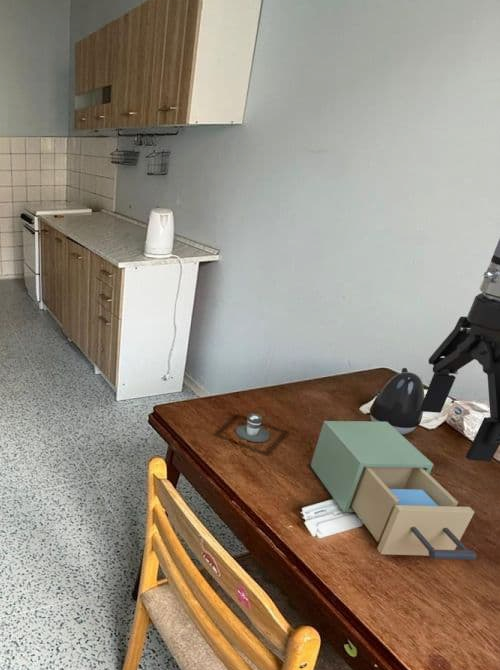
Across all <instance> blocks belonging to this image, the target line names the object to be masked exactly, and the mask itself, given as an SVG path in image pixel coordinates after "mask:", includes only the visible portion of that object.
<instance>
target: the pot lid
mask: <svg viewBox="0 0 500 670" xmlns="http://www.w3.org/2000/svg"><path fill="white" fill-rule="evenodd" d="M262 424H263V416H262V415H261V414H258V413H249V414H248V415H247V417H246V424H241V425H239V426H237V427H236V429H235V433H236V435H237V436H238V437H239V438H241V439H243V440H245V441H247V442H252V443H265V442H267V441H269V440H270V438H271V434H270V432H269V431H268V430H267V429H265V428H264V427H261V425H262Z"/></svg>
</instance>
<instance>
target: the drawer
mask: <svg viewBox="0 0 500 670" xmlns="http://www.w3.org/2000/svg"><path fill="white" fill-rule="evenodd" d="M390 489H415V490H423V491H424V492H425V493H426V494H427V495H428V496H429V497H430V498H431V499H432V500H433V501H434V502H435V503H436V504H437V505H438V506H409V505H398V504H399V500H398V498H397V497H396V496H395V495H394V494H393V493H392V492H391V491H390ZM458 504H459V501H458V500H457V499H456V498H455V497H454V496H453V495H452V494H450V492H448V491H447V489H446V488H444V487H443V485H441V484H440V483H439V482H438V481H437V480H436V479H435V478H434V477H433V476H432V475H431V474H428V473H427V472H426V471H425V470H424V469H423V468H411V467H364V468H363V471H362V473H361V476H360V479H359V482H358V484H357V487H356V490H355V493H354V495H353V498H352V501H351V504H350V505H351V507H352V508H353V509H354V511H355V512H354V513H355V514H356V515H357V516H358V518H359V520H360V521H361V522H362V523H363V524H364V526H365V527H366V528H367V530H368V531H369V532H370V534H371V535H372V536H373V538H374V539H375V541H376V542H377V543H378V546H377V548H376V549H377V551H378V552H379V554H380V555H393V556H397V555H398V556H399V555H400V556H423V557H424V556H426V557H427V556H429V558H430V559H432V560H450V561H451V560H455V561H476V560H477V558H478V557H477V553H476V552H475V551H474V550H469V549H468V548H467V547H466V546H465V545H464V544H463V543H462V541H461V539H462V537H463V535H464V534H465V532H466V529H467V527H468V526H469V524H470V523H471V520H472V518H473V516H474V514H475V511H474V510H473V509H472V508H471V507H470V506H457V505H458ZM457 547H458V549H456V548H457Z"/></svg>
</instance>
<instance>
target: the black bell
mask: <svg viewBox="0 0 500 670" xmlns="http://www.w3.org/2000/svg"><path fill="white" fill-rule="evenodd" d="M424 398H425V388H424V384H423V381H422V378H421V377H420V376H419V375H418V374H415V373H414V372H410V371H408V368H407V367H403V368H401V372H399V373H397V374H395V375H394V376H393V377H391V378H390V380H388V381H387V383H386V384H385V385H384V386H383V387H382V388H381V390H380V391H379V392H378V393H377V395H376V397H375V399H374V400H373V401H372V404H371V406H370V408H369V415H370V421H372V422H388V423H389V424H390V425H391V426H392V427H393V428H394V429H396V430H397V431H398V432H399V433H400V434H401V435H402V436H403V435H406V434H409V433H411V432H413V431H414V430H416V428H417V427H418V426H420V425H421V423H422V419H423V415H424V412H423V411H421V410H420V408H421V405H422V403H423V400H424Z"/></svg>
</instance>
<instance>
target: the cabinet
mask: <svg viewBox="0 0 500 670" xmlns="http://www.w3.org/2000/svg"><path fill="white" fill-rule="evenodd" d="M311 459H312V460H311V463H310V467H311V469H312V470H313V471H314V473H315V474H316V475H317V477H318V478H319V480H320V481H321V483H322V484H323V486H324V488H326V490H327V491H328V493H329V494H330V495H331V497H332V498H333V500H334V502H336V504H337V505H338V507H339V508H340V509H341V511H342V512H343V513H356V512H355V511H354V509H353V508H352V507H351V505H350V504H351V501H352V498H353V495H354V493H355V490H356V487H357V484H358V482H359V479H360V476H361V473H362V471H363V468H364V467H411V468H423V469H424V470H425V471H426V472H427V473H428V474H429V475H431V471H432V469H433V467H434V466H435V464H434V463H433V462H432V461H431V460H430V459H429V458H427V457H426V455H424V454H423V453H422V452H421V451H420V450H419V449H417V447H416V446H414V445H413V444H412V443H411V442H410V441H409V440H408V439H407V438H406V437H405V436H403V435H401V434H400V433H399V432H398V431H397V430H396V429H394V428H393V427H392V426H391V425H390V424H389V423H388V422H372V421H371V420H370V421H365V420H363V421H361V420H357V421H356V420H323V423H322V426H321V430H320V433H319V436H318V439H317V443H316V446H315V450H314V453H313V456H312V458H311Z"/></svg>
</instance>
